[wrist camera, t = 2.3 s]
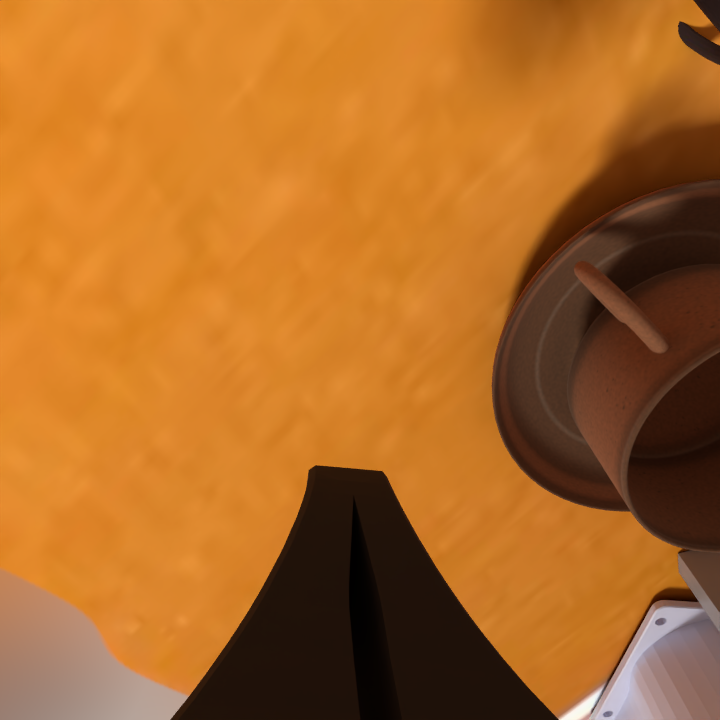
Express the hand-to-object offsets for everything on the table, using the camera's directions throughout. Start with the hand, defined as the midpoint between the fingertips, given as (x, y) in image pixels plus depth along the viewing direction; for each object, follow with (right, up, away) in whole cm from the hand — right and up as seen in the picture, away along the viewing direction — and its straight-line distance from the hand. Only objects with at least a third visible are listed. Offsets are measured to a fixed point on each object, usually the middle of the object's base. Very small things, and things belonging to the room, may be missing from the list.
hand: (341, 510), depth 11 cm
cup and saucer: (+10, +3, +10) cm, 15 cm away
